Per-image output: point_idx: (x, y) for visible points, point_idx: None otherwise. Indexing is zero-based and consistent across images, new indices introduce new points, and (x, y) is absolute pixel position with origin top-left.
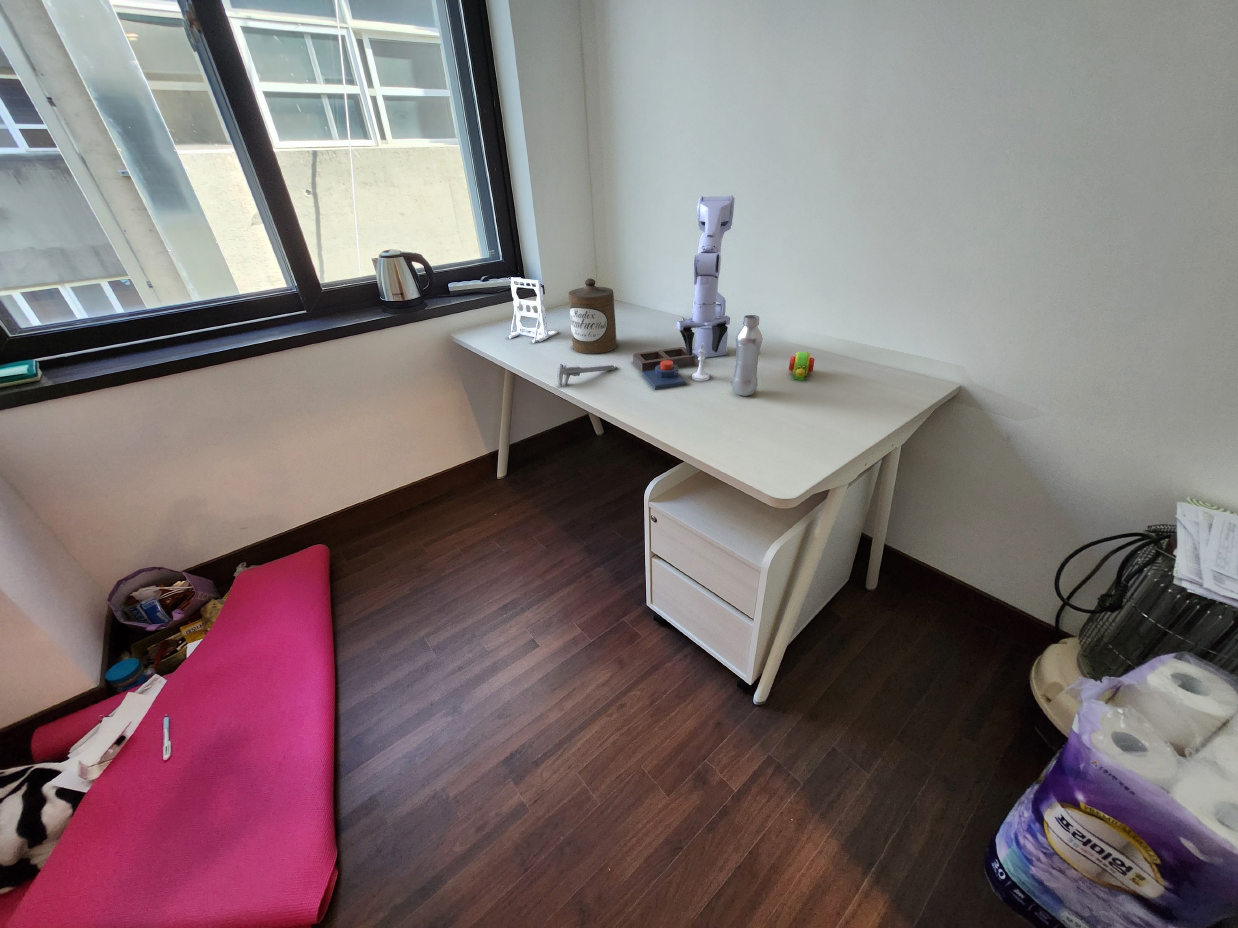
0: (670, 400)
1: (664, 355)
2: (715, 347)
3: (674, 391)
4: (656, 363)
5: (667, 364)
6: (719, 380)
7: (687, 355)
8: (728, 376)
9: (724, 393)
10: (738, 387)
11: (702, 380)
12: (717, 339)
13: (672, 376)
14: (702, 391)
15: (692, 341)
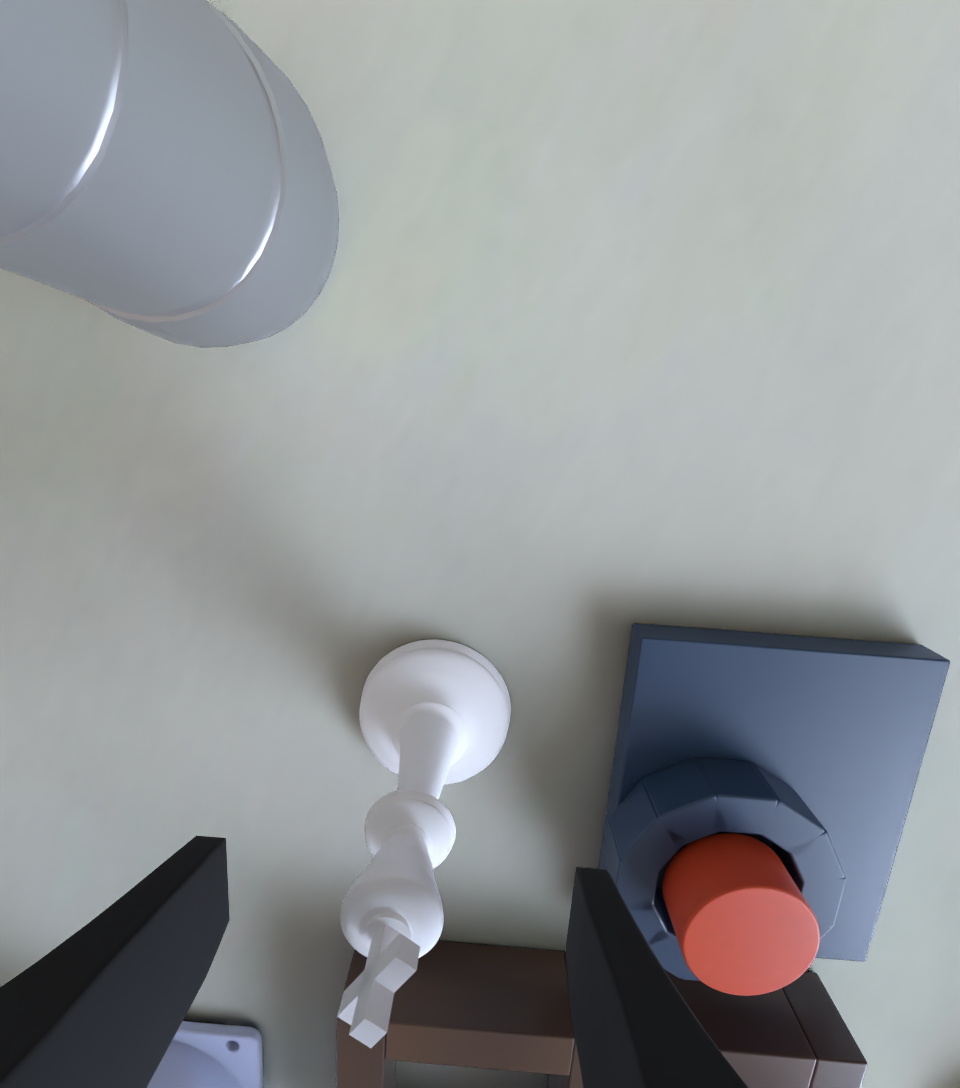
0: (936, 379)
1: None
2: (189, 895)
3: (791, 544)
4: (718, 1030)
5: (779, 894)
6: (311, 593)
7: (399, 1054)
8: (199, 637)
9: (406, 311)
10: (305, 107)
11: (454, 644)
12: (81, 1011)
13: (709, 762)
14: (568, 440)
15: (651, 1081)
